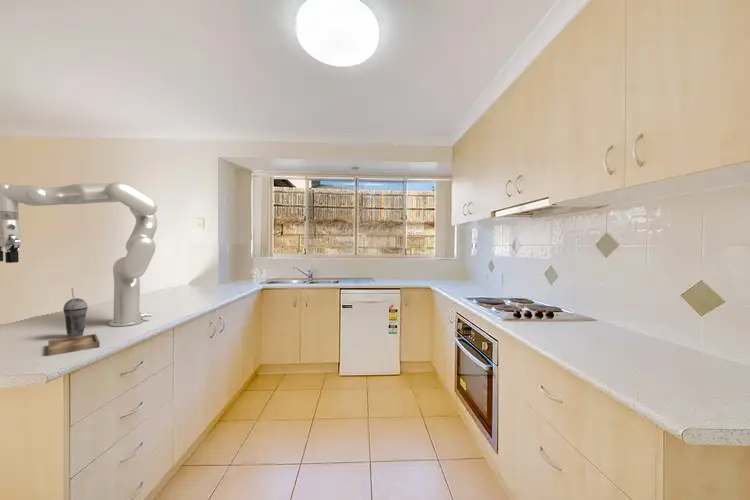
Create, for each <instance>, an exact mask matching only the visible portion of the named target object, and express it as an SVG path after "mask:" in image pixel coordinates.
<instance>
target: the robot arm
mask: <svg viewBox="0 0 750 500" xmlns="http://www.w3.org/2000/svg"><path fill="white" fill-rule="evenodd" d="M118 202H120V203H121V204H123V205H124V206H126V207H127V208H129V210H130V212H131V214H132V215H133V216H134V218H135V225H134V227H133V230H132V232H131V234H130V235H129V238H128V239H127V241H126V243H125V250H126V251H127V253H126V255H125V256H123V257H120V258H118V259H117V260H116V261H115V262H114V264H113V267H112V273H113V274H112V276H113V320H111V321H109V322H108V325H109V326H111V327H127V326H134V325H139V324H141V323H143V322H144V318H152V313H151V312H148V313H147V312H143V313H141V312H140V296H141V295H140V292H141V291H140V290H141V283H140V280H141V279H140V277H142V276H143V275H144V274H145V272H146V271H147V269H148V267H149V265H150V263H151V261H152V259H153V256H154V254H155V251H156V243H155V240H153V239H154V236H155V234H156V231H157V228H158V220H157V219H158V218H157V216H156V212H157V211H158V206H157V203H156V202H155V201H154V200H153V199H152V198H150V197H149V196H147V195H145V194H144V193H142V192H141V191H139V190H137V189H136V188H134V187H132V186H131V185H129V184H127V183H125V182H122V181H114V182H111V183H109V182H107V183H103V182H102V183H75V184H69V185H63V186H49V187H47V186H46V187H43V186H42V187H40V186H39V185H38V186H37V185H23V184H20V185H19V184H18V185H17V184H9V183H4V182H3V183H1V182H0V262H4V260H5V264H14V263H19V259H20V258H19V252H20V249H19V248H20V247H21V245H22V238H21V237H22V235H21V228H20V223H19V220H20V218H19V216H20V215H19V204H23V205H26V206H29V207H30V206H31V207H42V206H43V207H44V206H56V205H57V206H58V205H86V204H102V203H103V204H105V203H106V204H107V203H118ZM3 249H5V250H6V251H5V253H4V251H3ZM4 254H5V255H4ZM4 256H5V257H4ZM4 258H5V259H4Z"/></svg>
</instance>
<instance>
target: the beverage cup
mask: <svg viewBox="0 0 750 500" xmlns="http://www.w3.org/2000/svg"><path fill="white" fill-rule="evenodd" d="M71 293H72V294H71V295H72V298H71V299H69V300H67V302H65V303H64V306H63V308H62V310H63V315H64V318H65V327H66V328H65V329H66V335H67V337H68V338H70V337H77V336H84V331H85V325H86V324H85V323H86V316H87V312H88V308H89V307H88V304H87V302H86V300H84V299H82V298H75V290H74V288H73V287H71ZM67 337H66V338H67Z"/></svg>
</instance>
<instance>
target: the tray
mask: <svg viewBox="0 0 750 500" xmlns="http://www.w3.org/2000/svg"><path fill="white" fill-rule="evenodd" d="M47 347H48V349H47V350H48V355H47V356H54V355H60V354H67V353H72V352H79V351H86V350H90V349H91V350H92V349H95V348H96V349H97V348H100V340H99V338H98V336H97V333H94V334H85V335H84V334H83V336H77V337H70V338H67V337H65V338H64V337H63V338H58V339H57V338H56V339H51V340H48V346H47Z"/></svg>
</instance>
